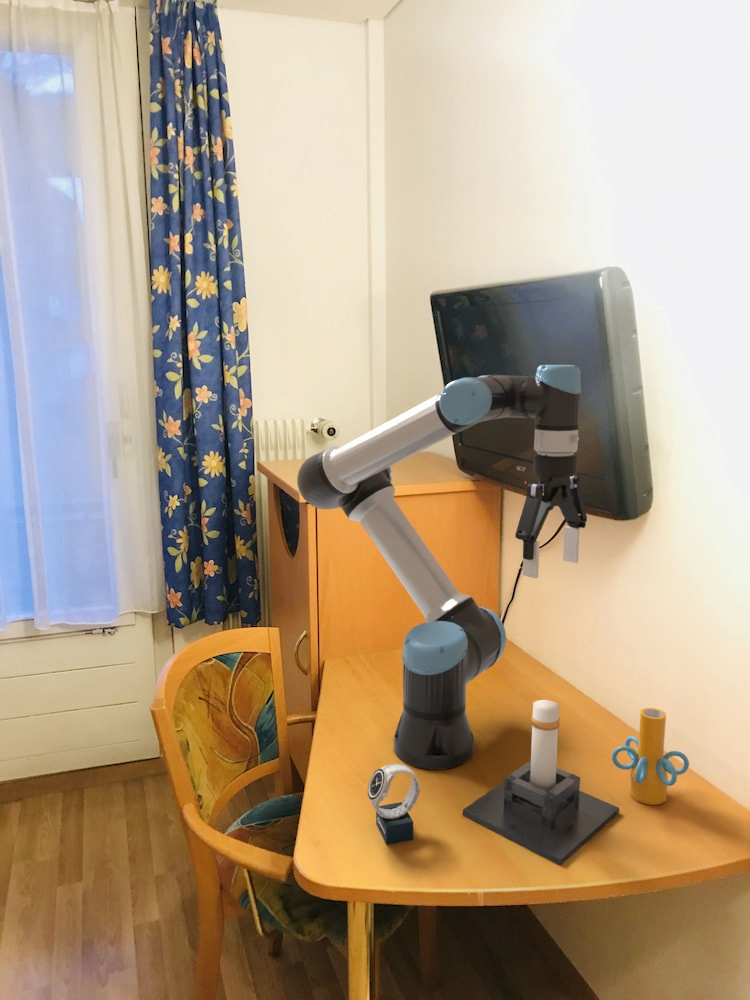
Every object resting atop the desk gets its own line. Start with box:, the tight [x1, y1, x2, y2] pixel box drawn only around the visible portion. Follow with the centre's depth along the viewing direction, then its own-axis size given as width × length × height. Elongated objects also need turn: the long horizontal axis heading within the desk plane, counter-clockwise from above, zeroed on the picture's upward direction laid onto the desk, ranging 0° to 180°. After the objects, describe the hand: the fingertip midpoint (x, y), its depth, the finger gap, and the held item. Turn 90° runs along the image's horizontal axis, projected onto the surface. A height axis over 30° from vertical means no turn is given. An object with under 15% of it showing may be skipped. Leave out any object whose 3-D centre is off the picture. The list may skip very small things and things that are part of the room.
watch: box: [367, 763, 421, 846], centre depth 120 cm, size 6×8×11 cm
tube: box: [529, 699, 561, 809], centre depth 124 cm, size 4×4×18 cm
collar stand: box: [462, 760, 620, 866], centre depth 125 cm, size 18×18×6 cm
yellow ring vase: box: [611, 707, 690, 806], centre depth 129 cm, size 12×10×15 cm
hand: (551, 568), depth 141 cm, fingers open, 13 cm apart
